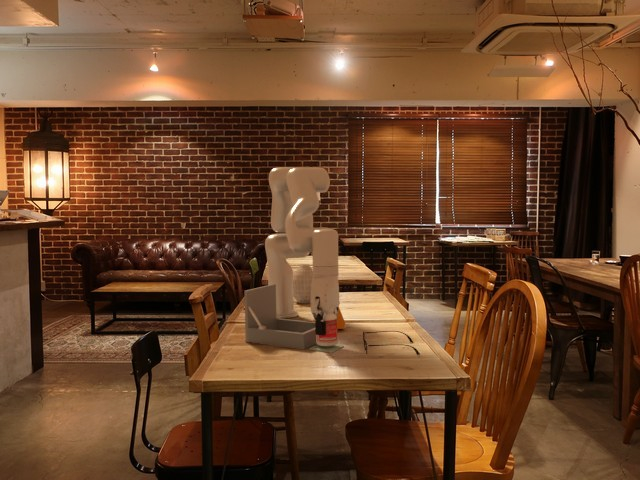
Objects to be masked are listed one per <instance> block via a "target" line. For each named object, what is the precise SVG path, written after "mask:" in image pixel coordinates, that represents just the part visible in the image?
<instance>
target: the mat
mask: <svg viewBox="0 0 640 480" xmlns="http://www.w3.org/2000/svg"><path fill="white" fill-rule="evenodd" d="M344 347H345V345H344V344H342V345H341V344H336V345H333V346H320V345H318V344H315V345H313V346H311V347H309V351H316V352H323V353H330V354H331V353H332V354H333V353H334V352H337V351H339V350H341V349H343V348H344Z"/></svg>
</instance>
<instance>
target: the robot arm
mask: <svg viewBox="0 0 640 480" xmlns="http://www.w3.org/2000/svg"><path fill="white" fill-rule="evenodd" d="M268 184H269V187H270V191H271V196H272V198H271V199H272V200H271V201H272V202H271V214H270V225H271V230H273V231H274V232H277V233H275V234H274V233H273V234H271V235H268V236H267V237H266V238H265V242H264V248H265V254H266V255H265V256H266V260H267V281H268V284H267V285H271V284H276V318H279V319H292V318H296V317H297V316H298V314H299V313H298V311H296V310H294V307H295V306H294V297H293V273H294V270H293V267H292V265H290V263H289V262H288V261H287V259H301V258H306V257H308V256H309V255H310V253H312V269H313V278H312V284H311V300H310V303H309V305H310V306H309V307H310V312H311V315H312V316H313V318H314V319H313V320H314V321H315V333H316V335H323V336H325V335H326V322H325V315H326V312H327V311H329V310H330V309H331V308H332V307H334V312H333V313H334V314H335V315H336V316H338V313H337V311H338V307H339V308H340V304H341V301H340V287H339V286H340V284H339V233H338V231H337V230H335V229H331V228H330V227H325V226H324V227H314V216H313V214H314V213H316V211H317V210H318V209H319V207H320V199H319V196H318V194H319V193H326V192H328V190H329V188H330V185H331V178H330V175H329V172H328V171H327V170H326V169H325V168H323V167H315V166H313V167H310V166H309V167H308V166H307V167H306V166H303V167H300V166H299V167H295V166H294V167H293V166H286V167H284V166H282V167H280V166H279V167H274V168H272V169H271V170H270V172H269V175H268ZM319 309H322V310H323V311H322V310H319ZM319 313H322V316H321V315H320V314H319Z"/></svg>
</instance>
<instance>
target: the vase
mask: <svg viewBox="0 0 640 480" xmlns="http://www.w3.org/2000/svg"><path fill="white" fill-rule="evenodd" d="M312 278H313V267H311V266H310V264H308V263H302V264H300V265H299V267H297V268H296V269H295V271H293V299H294V300H295V301H296V302H297V303H298V304H310V300H311V284H312Z"/></svg>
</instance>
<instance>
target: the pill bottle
mask: <svg viewBox="0 0 640 480" xmlns="http://www.w3.org/2000/svg"><path fill="white" fill-rule="evenodd" d="M319 310H322V309H319ZM322 311H323V310H322ZM333 312H334V307H332V308H331V309H330V310H329V311H327V312H326V315H325V322H326V335H325V336H323V335H316V343H317V344H316V345H320V346H333V345H338V344H337V343H338V331H337V330H338V329H337V316H336V315H335V314H334V313H333ZM319 314H320V315H321V316H322V313H319Z"/></svg>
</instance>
